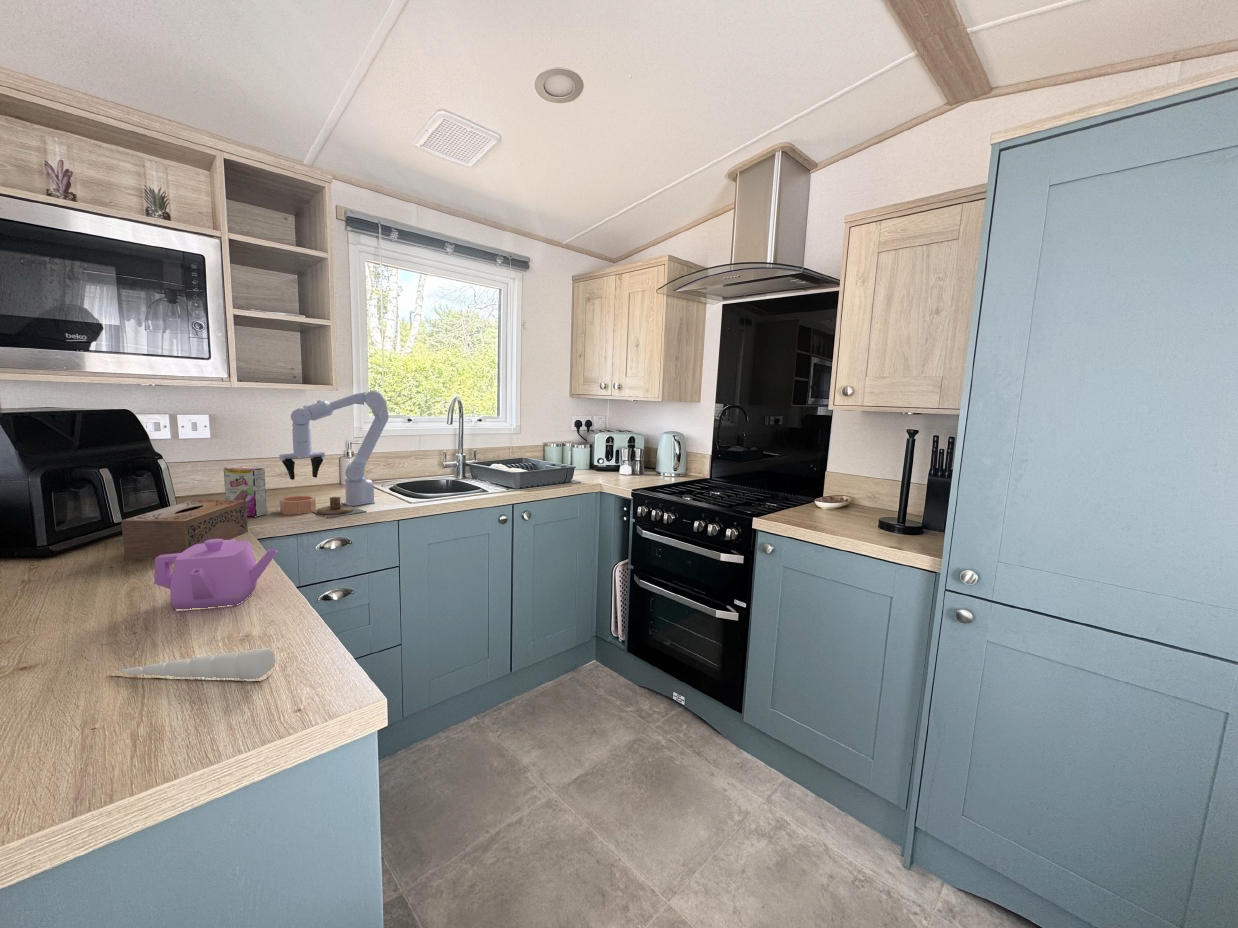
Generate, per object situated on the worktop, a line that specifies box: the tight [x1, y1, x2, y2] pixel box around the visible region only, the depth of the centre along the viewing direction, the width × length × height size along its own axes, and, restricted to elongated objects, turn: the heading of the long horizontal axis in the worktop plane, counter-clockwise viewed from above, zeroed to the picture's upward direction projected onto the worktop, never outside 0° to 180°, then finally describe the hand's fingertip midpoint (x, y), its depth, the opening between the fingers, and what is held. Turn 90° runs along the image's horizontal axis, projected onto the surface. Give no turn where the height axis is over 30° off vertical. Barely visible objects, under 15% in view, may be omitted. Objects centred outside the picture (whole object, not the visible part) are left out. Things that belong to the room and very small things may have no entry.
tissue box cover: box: [120, 499, 249, 560], centre depth 143 cm, size 26×14×10 cm, turn 6°
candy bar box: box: [223, 465, 268, 518], centre depth 175 cm, size 11×5×16 cm, turn 84°
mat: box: [311, 506, 367, 519], centre depth 185 cm, size 13×13×1 cm
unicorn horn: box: [114, 647, 276, 679], centre depth 80 cm, size 5×24×5 cm, turn 89°
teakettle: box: [153, 539, 279, 610], centre depth 108 cm, size 17×17×12 cm
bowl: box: [279, 495, 317, 515], centre depth 184 cm, size 10×10×4 cm
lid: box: [316, 496, 354, 516], centre depth 184 cm, size 11×11×5 cm
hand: (303, 478), depth 191 cm, fingers open, 7 cm apart
